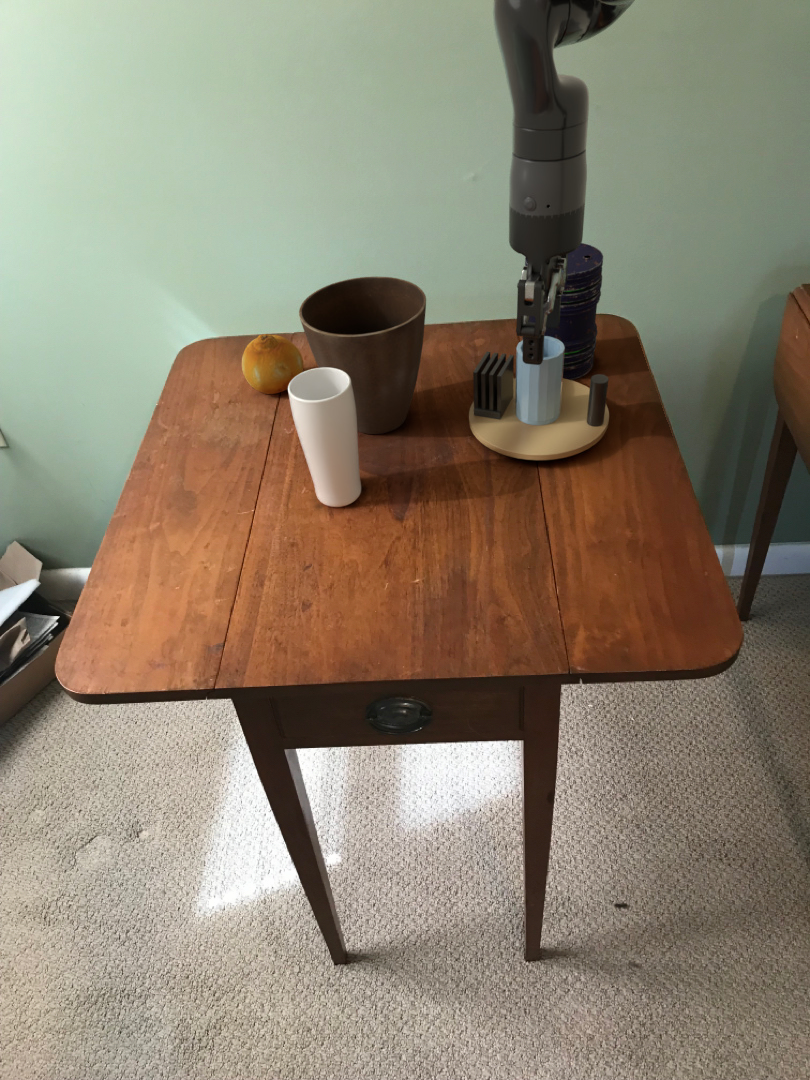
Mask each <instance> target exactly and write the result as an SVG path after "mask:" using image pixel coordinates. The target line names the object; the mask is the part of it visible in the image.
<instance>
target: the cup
mask: <svg viewBox="0 0 810 1080" xmlns="http://www.w3.org/2000/svg"><path fill="white" fill-rule="evenodd" d="M515 351H516V352H515V353H516V354H515V378H516V396H515V409H516V416H517V418H518V419H519V420H520V421H522V422H524V423H526V424H529V425H546V424H550V423H552V422H554V421H555V420H557V419H558V417H559V416H560V410H561V397H562V382H563V367H564V352H565V347H564V344H563V343H562V342H561V341H560V340H558V339H556V338H553V337H550V336H544V359H543V361H542V363H541V364H540V365H533V364H525V363H524V362H523V360H522V357H523V340H521V341H519V342H518V344H517V345H516V349H515Z"/></svg>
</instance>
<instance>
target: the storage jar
mask: <svg viewBox="0 0 810 1080" xmlns="http://www.w3.org/2000/svg"><path fill="white" fill-rule="evenodd" d="M524 257H525V256H524ZM527 264H528V259H527V258H526V257H525V258H524V266H527ZM603 265H604V253H603V252H602V251H601V250H600V249H598V248H597V247H596V246H593V245H591V244H587V243H584V242H581V244H580V246H579V247H578V248H577V249H576V250H574V251H573V252H571V253H568V268H567V275H568V279H567V280H566V283H565V285H564V292H563V294H562V295H559V296H561V308H560V323H559V325H558V327H557V328H547V327H546V332H545V335H544V336H550V337H553V338H556V339H558V340H560V341H561V342H562V343H563V344H564V347H565V352H564V367H563V378H564V379H568V380H572V381H574V380H577V379H579V378H582V377H583V376H585V375H587V374H588V373H590V371H591V370H592V369H593V366H594V356H595V351H596V347H597V336H598V326H597V322H596V321H597V320H596V319H597V309H598V304H599V302H600V298H601V297H602V291H601V290H602V285H603ZM528 322H533V323H535V322H536V319H535V317H533V316H529V320H528ZM521 339H522V340H523V337H522V338H521ZM522 340H521V341H522Z"/></svg>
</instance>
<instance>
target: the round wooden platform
mask: <svg viewBox="0 0 810 1080" xmlns="http://www.w3.org/2000/svg"><path fill="white" fill-rule="evenodd" d="M514 361H515V355H514V354H509V355H508V357H507V354H506V353H501V355H500V356H499V353H498V352H493V354H492V355H491V351H486V352H485V353H484V355H482V357H481V360H480V361H479V362H478V364H477V366H476V367H475V369H474V370H473V371H472V383H473V386H472V387H473V401H472V403H471V405H470V408H469V411H468V423H469V428H470V431H471V433H472V434H473V436H474V437H475V438H476V439H477V441H479V442H480V443H481V444H482V445H484V446H485V447H487V448H488V449H490V450H491V451H494V452H496V453H497V454H500V455H503V456H505V455H506V456H505V457H508V456H510V457H514V458H519V459H526V460H552V459H559V458H563V459H566V458H565V457H567V458H569V457H568V456H570V457H572V456H575V455H578V454H580V453H582V452H584V451H586V450H589V449H590V448H592V447H593V446H595V445H596V444H597V443H598V442H600V440H601V439H602V438H603V437H604V436H605V434H606V432H607V429H608V427H609V421H610V411H609V408H608V405H607V398H608V397H607V396H608V395H607V394H608V388H609V377H608V376H607V375H605V374H601V373H599V374H593V375H592V376H591V377H590V380H589V381H590V382H589V387H588V386H587V385H584V384H582V383H580V382H577V381H575V380H568V379H564V378H563V382H562V397H561V410H560V416H559V417H558V419H557V420H555V421H554V422H552V423H550V424H546V425H529V424H526V423H524V422H522V421H520V420H519V419H518V418H517V416H516V409H515V396H516V377H514V370H515V369H514V367H515V365H514V364H515V362H514ZM510 457H509V458H510ZM514 458H513V459H514ZM559 460H560V459H559Z"/></svg>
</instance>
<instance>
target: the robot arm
mask: <svg viewBox="0 0 810 1080" xmlns="http://www.w3.org/2000/svg"><path fill="white" fill-rule="evenodd" d="M635 1H636V0H493V4H492V5H493V6H492V18H493V27H494V31H495V36H496V39H497V45H498V49H499V53H500V57H501V62H502V65H503V70H504V76H505V79H506V84H507V88H508V93H509V97H510V102H511V107H512V120H511V121H512V122H511V124H512V125H511V128H512V129H511V138H512V139H511V162H510V168H509V169H510V170H509V185H508V186H509V189H508V190H509V193H508V194H509V198H508V199H509V202H508V242H509V246H510V248H511V249H512V250H513V251H514V252H516V254H520V255H522V256H523V257H526V258H527V259H528V264H527V266H525V265H523V267H522V271H521V277H520V279H519V280H518V282H517V284H516V288H517V298H516V299H517V302H516V305H517V306H516V328H515V333H516V336H517V337H522V338H523V357H522V360H523V362H524V363H525V364H533V365H540V364H541V363H542V361H543V359H544V335H545V332H546V327H547V328H557V327H558V325H559V323H560V308H561V296H559V295H562V294H563V292H564V285H565V283H566V280H567V279H568V275H567V268H568V253H571V252H573V251H574V250H576V249H577V248H578V247H579V246H580V244H581V243H583V237H584V224H585V211H586V210H585V209H586V194H587V183H588V182H587V179H588V164H587V141H588V127H589V114H590V113H589V110H590V94H589V88H588V86H587V84H586V82H585V81H583V79H581V78H580V77H577V76H574V75H570V74H558V71H557V68H556V63H555V59H554V50H555V49H559V48H562V47H567V46H570V45H574V44H578V43H583V42H585V41H587V40H590V39H591V38H594V37H596V36H597V35H600V34H601V33H603V32H604V31H606V30H607V29H608V28H610V27H611V26H612V25H613V24H615V23H616V22H617V21H618V20H619V19H620V17H622V15H624V13H625V12H626V11H627V10H628V9H629V8H630V7H631V6H632V5H633V4H634V3H635ZM529 316H533V317H535V319H536V322H535V323H533V322H528V320H529Z"/></svg>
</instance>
